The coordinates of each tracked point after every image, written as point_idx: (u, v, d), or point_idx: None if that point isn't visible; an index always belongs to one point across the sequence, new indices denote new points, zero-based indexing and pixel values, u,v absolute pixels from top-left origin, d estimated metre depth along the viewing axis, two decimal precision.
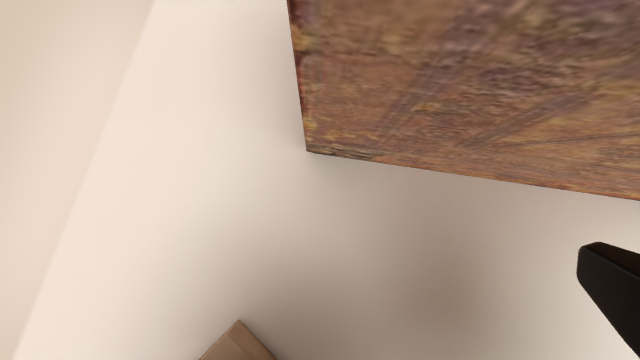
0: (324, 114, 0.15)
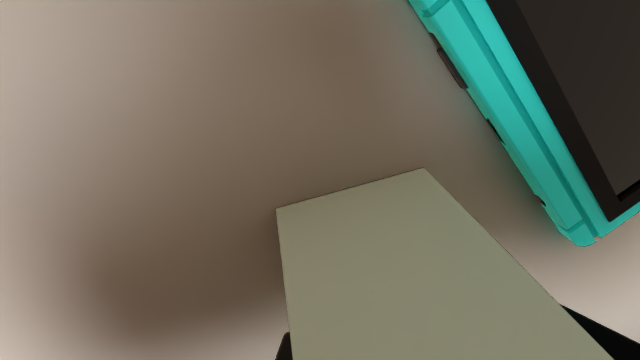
0: None
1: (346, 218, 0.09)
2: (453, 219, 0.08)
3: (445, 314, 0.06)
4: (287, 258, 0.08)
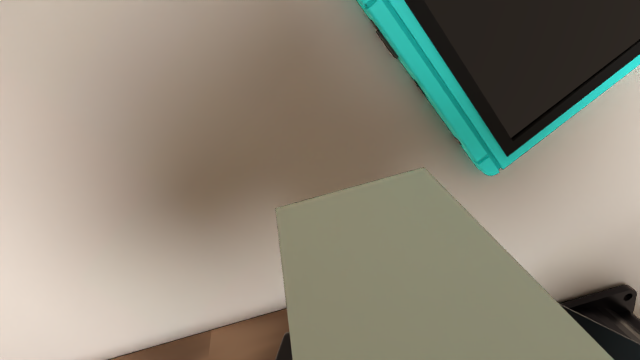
0: None
1: (346, 218, 0.09)
2: (453, 218, 0.08)
3: (445, 313, 0.06)
4: (287, 257, 0.08)
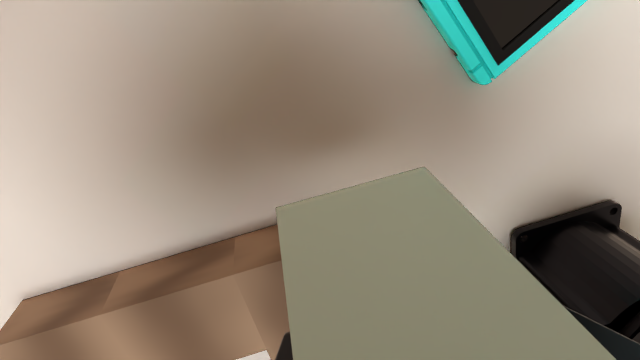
0: None
1: (346, 217, 0.09)
2: (453, 218, 0.08)
3: (446, 313, 0.06)
4: (287, 257, 0.08)
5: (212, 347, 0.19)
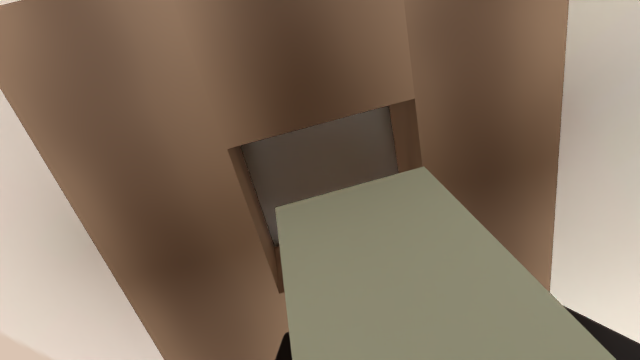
0: None
1: (346, 217, 0.09)
2: (453, 218, 0.08)
3: (445, 312, 0.06)
4: (286, 257, 0.08)
5: (334, 78, 0.12)
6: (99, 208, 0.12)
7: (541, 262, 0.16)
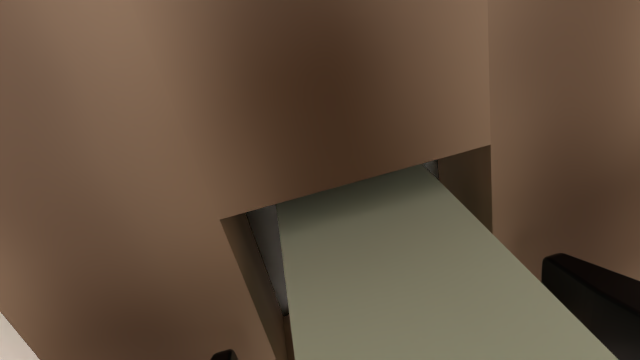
0: None
1: (335, 188, 0.10)
2: (425, 186, 0.09)
3: (412, 254, 0.07)
4: (283, 219, 0.09)
5: (378, 119, 0.08)
6: (35, 304, 0.08)
7: None
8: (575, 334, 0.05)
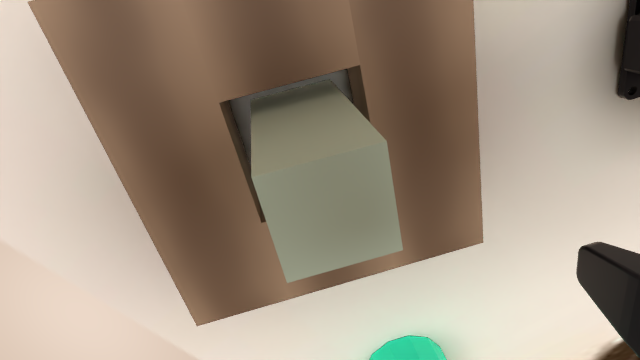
0: None
1: (284, 98, 0.18)
2: (331, 92, 0.17)
3: (312, 112, 0.15)
4: (253, 111, 0.17)
5: (298, 49, 0.16)
6: (123, 148, 0.16)
7: (473, 202, 0.20)
8: (362, 122, 0.13)
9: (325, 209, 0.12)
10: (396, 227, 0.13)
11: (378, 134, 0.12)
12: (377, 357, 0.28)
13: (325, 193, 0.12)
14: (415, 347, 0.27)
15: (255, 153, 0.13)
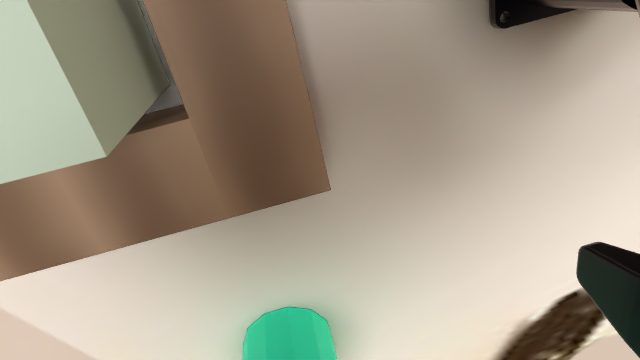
0: None
1: None
2: None
3: None
4: None
5: None
6: None
7: (308, 140, 0.17)
8: None
9: None
10: (84, 123, 0.10)
11: None
12: (251, 330, 0.25)
13: None
14: (290, 318, 0.24)
15: None
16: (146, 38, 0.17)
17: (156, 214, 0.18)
